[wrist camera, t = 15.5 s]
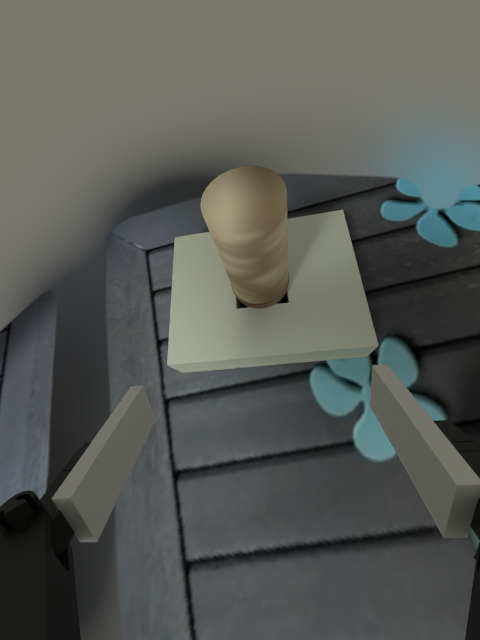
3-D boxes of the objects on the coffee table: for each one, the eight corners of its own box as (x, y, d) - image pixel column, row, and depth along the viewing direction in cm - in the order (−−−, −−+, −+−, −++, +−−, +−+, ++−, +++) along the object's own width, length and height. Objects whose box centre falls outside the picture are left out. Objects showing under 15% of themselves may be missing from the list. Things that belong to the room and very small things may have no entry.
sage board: (182, 372, 30) (167, 365, 26) (186, 256, 36) (174, 237, 32) (366, 356, 27) (378, 345, 23) (337, 233, 33) (342, 209, 30)
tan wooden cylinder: (240, 324, 30) (198, 240, 17) (237, 279, 33) (199, 174, 19) (292, 318, 30) (294, 225, 16) (286, 273, 32) (282, 157, 18)
